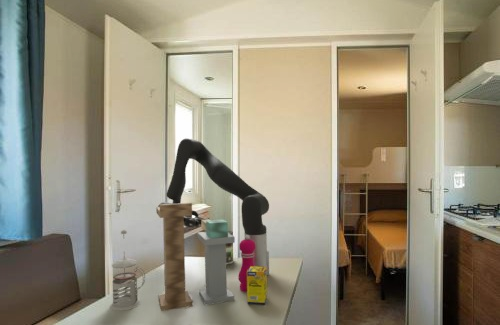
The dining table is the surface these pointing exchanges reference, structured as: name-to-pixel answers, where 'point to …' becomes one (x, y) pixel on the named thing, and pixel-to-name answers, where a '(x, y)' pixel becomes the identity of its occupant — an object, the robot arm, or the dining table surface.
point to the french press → (125, 285)
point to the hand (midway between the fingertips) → (206, 225)
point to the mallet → (215, 228)
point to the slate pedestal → (215, 269)
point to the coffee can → (229, 251)
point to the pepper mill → (246, 260)
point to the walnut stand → (174, 255)
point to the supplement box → (257, 285)
